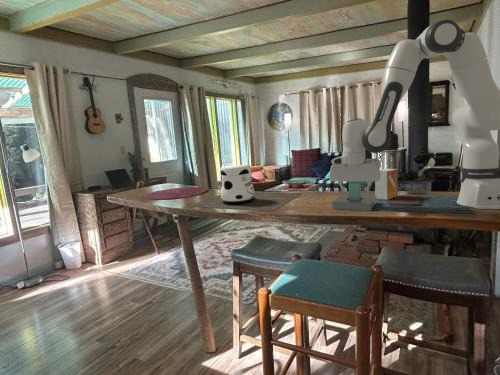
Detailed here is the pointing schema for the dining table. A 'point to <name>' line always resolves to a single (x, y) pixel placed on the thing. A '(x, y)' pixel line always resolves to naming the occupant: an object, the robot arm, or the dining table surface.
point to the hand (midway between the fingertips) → (354, 191)
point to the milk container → (236, 184)
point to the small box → (386, 184)
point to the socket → (355, 203)
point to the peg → (355, 191)
